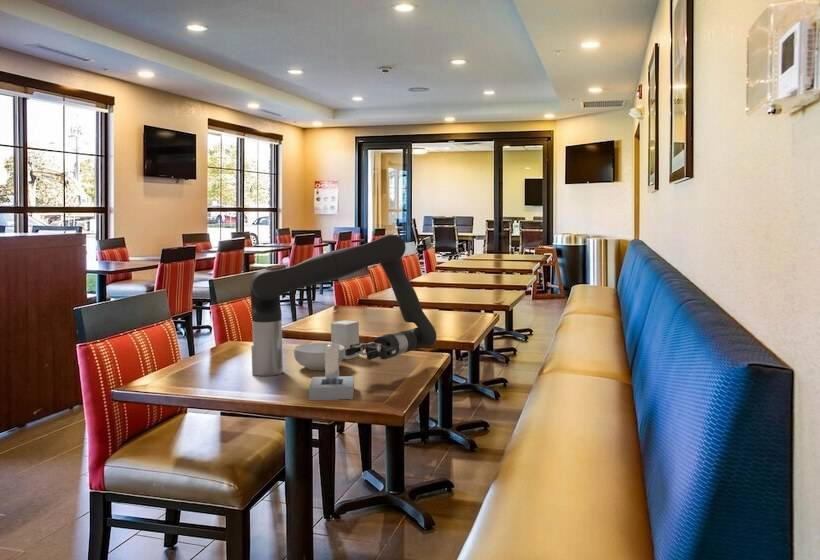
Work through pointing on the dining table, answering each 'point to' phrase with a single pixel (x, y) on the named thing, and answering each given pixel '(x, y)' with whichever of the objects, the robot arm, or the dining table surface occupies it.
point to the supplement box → (345, 334)
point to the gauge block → (331, 389)
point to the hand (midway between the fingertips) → (356, 354)
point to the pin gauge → (331, 364)
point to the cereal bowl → (314, 355)
